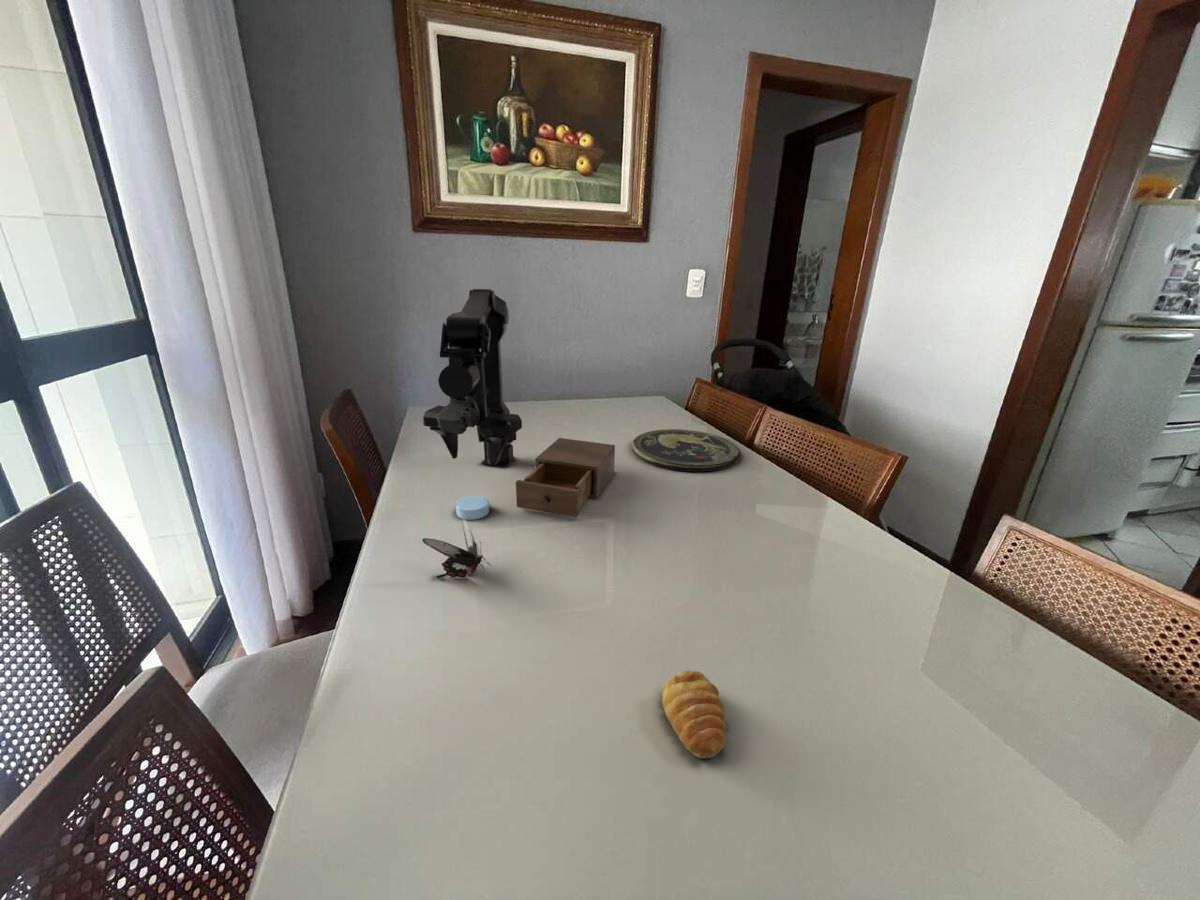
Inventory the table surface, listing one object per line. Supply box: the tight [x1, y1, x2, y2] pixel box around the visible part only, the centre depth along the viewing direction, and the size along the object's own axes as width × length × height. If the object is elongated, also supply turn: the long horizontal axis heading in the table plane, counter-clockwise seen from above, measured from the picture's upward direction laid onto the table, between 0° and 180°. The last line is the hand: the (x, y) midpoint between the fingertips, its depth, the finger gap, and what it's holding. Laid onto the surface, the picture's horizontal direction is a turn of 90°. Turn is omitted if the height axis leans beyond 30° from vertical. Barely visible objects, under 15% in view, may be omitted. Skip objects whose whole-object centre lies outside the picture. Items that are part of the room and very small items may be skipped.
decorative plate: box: [631, 428, 741, 472], centre depth 136 cm, size 30×2×30 cm
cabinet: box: [535, 437, 616, 499], centre depth 115 cm, size 15×15×8 cm
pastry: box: [661, 670, 727, 759], centre depth 55 cm, size 9×7×4 cm
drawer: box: [515, 462, 594, 518], centre depth 104 cm, size 15×13×6 cm
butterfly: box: [421, 518, 491, 579], centre depth 79 cm, size 11×8×10 cm
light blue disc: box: [455, 495, 490, 521], centre depth 101 cm, size 7×7×2 cm
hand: (475, 461), depth 98 cm, fingers open, 9 cm apart
